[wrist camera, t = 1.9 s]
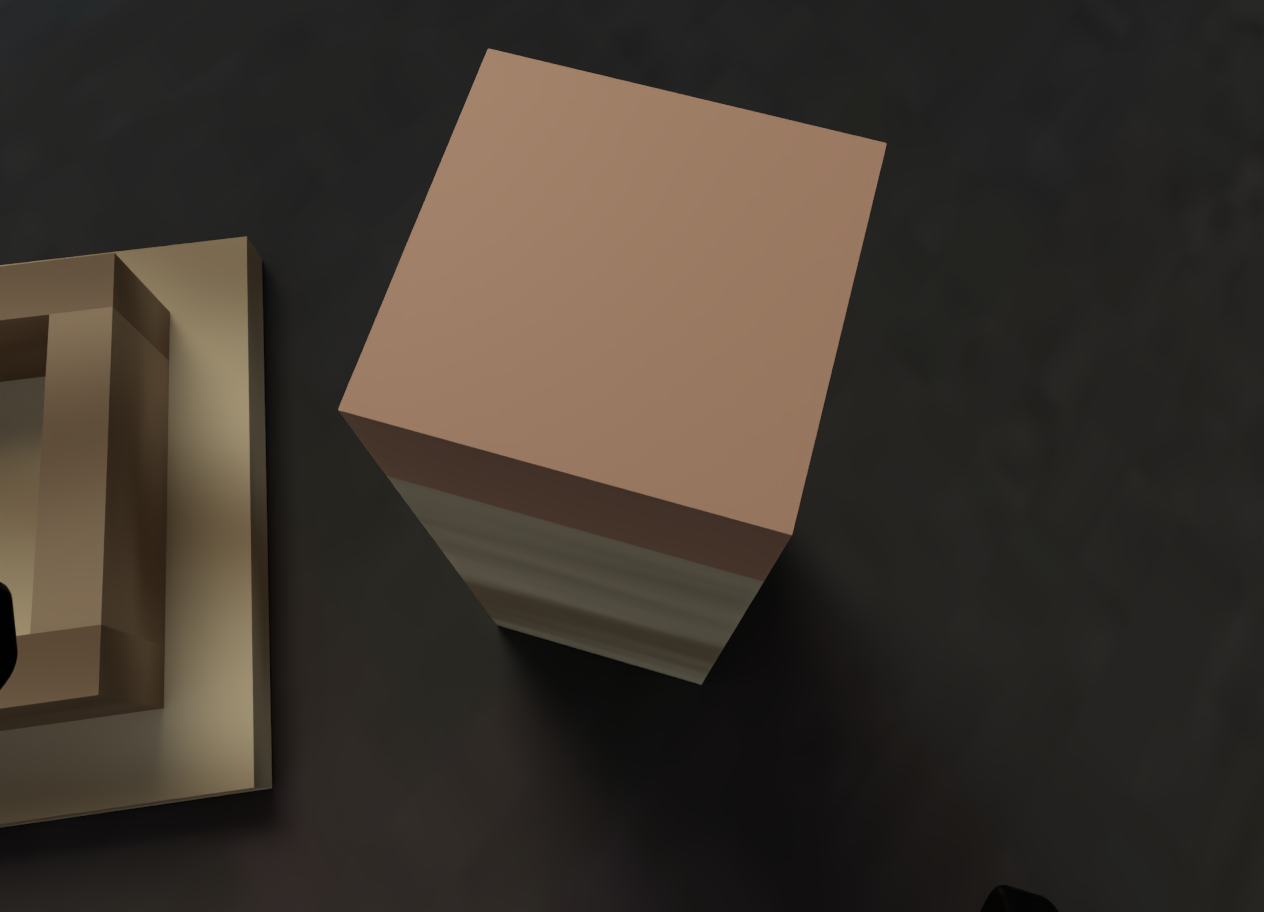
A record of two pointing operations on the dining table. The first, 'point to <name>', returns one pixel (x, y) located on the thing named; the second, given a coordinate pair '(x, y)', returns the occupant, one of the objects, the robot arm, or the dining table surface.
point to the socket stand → (134, 530)
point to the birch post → (614, 353)
